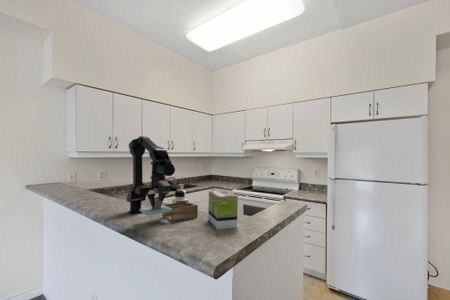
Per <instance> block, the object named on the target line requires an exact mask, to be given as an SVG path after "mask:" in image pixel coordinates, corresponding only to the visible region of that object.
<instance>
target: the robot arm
mask: <svg viewBox="0 0 450 300" xmlns="http://www.w3.org/2000/svg"><path fill="white" fill-rule="evenodd" d="M128 149H129V153H130V154H131V156H132V184H131V186H130V187H129V192H128V194H127V196H126V202H127V203H129V210H127V213H129V214H130V215H135V214H134V213H136V214H141V213H140V209H142V202H145V201H146V198H147V199H148V201H149V204H150V206H151V207H152V208H154V200H155V196H156V193H155V192H157V193H158V194H157V195H158V199H157V200H161V206H163V202H164V200H165V197H166V196H167V195H169V194H170V192H175V191H177V190H178V186H177V185H175V184H174V180H166V177H171V176H173V175H174V173H175V172H176V168H175V166H174V164H173V163H172V160H171V158H170V155H169V153H168V150H167V149H166V148H164V147H161V146H159V145H157V144H156V143H155V142H154V141H152V139H150V137H148V136H143V135H141V136H138V138H134V139H132V140H131V141H129V143H128ZM146 151H147V152H149V153H148V156H149V158H150V159H151V160H152V161H151V162H150V165H151V176H150V178H149V179H150V180H151V181H150V184H149V187H148V186H147V185H146V184H145V183H144V182H143V156H144V154H145V153H146Z"/></svg>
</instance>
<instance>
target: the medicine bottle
mask: <svg viewBox="0 0 450 300" xmlns="http://www.w3.org/2000/svg"><path fill="white" fill-rule="evenodd" d="M186 195H187V193H186V191H185V190H184V189H177V191H174V198H172V199H171V204H172V203H179V202H189V199H187V198H186Z"/></svg>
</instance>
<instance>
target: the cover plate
mask: <svg viewBox="0 0 450 300" xmlns="http://www.w3.org/2000/svg"><path fill="white" fill-rule="evenodd" d="M164 205H165V204H162V205H161V200H158V199H154V208H152V206H151V207H143V208H141V209H140V212H142V214H144V215H146V216H149V217H150V216H154V215H158V214H163V213H166V212H171V211H172V210H173V209H172V208H169V207H166V206H164Z"/></svg>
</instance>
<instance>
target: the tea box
mask: <svg viewBox="0 0 450 300" xmlns="http://www.w3.org/2000/svg"><path fill="white" fill-rule="evenodd" d="M238 198H239V197H238V195H237V194H234V193H233V192H230V191H228V190H212V191H211V190H210V191H208V209H207V210H208V212H207V213H208V216H207V217H208V218H207V219H208V221H209V222H210V223H211V224H212V225H213V226H214V227H215V228H216V230H225V229H226V230H227V229H234V228H238V202H239V200H238Z"/></svg>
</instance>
